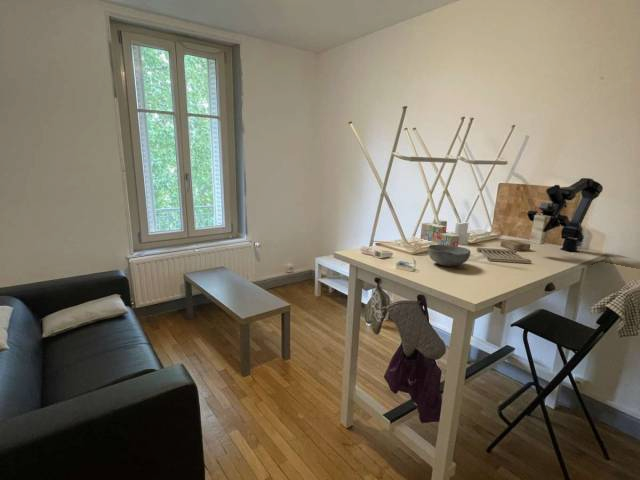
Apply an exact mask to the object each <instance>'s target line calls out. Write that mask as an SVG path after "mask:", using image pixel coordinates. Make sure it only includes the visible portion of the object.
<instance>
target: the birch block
mask: <svg viewBox="0 0 640 480" xmlns="http://www.w3.org/2000/svg"><path fill="white" fill-rule="evenodd" d="M550 218H551V216H546V215H543V214H541V215H535V216H534V221H532V222H533V223H532V228H531V233H530V238H529V239H530V240H529V243H530V244H531V243H532V244H536V245H545V244H546V242H547V239H548V238H547V237H548V234H549V233H548V232H549V230H548V231H546V232H544V231H543V230H544V229H545V227H546V226H547V225H548V223H549V222H550Z"/></svg>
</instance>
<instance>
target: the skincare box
mask: <svg viewBox="0 0 640 480" xmlns="http://www.w3.org/2000/svg"><path fill="white" fill-rule="evenodd" d="M438 220H439V223H440V225H442V226H446V227H447V225H448V221H447V220H443V219H438ZM433 224H437V222H436V221H435V220H434V222H433Z"/></svg>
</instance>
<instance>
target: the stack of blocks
mask: <svg viewBox="0 0 640 480" xmlns="http://www.w3.org/2000/svg"><path fill="white" fill-rule="evenodd" d="M420 239H424V240H428V241H433V242H436V243H437V244H438V245H450V246H457V247H459V244H458V242H459V235H455V234H452V233H451V232H447V226H442V225H440V226H439V225H437V224H434V222H433V223H432V222H425V223H423V222H422V223H421V229H420Z"/></svg>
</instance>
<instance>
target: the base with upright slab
mask: <svg viewBox="0 0 640 480" xmlns="http://www.w3.org/2000/svg"><path fill="white" fill-rule="evenodd" d="M468 227H469V222H467V221H461V223H459V222H455V228H454V231H452V233H451V234H455V235H459V242H458V246H459V245H460V246H467V245H468V244H469V238H470V233H469V232H468V230H469V229H468Z"/></svg>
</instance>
